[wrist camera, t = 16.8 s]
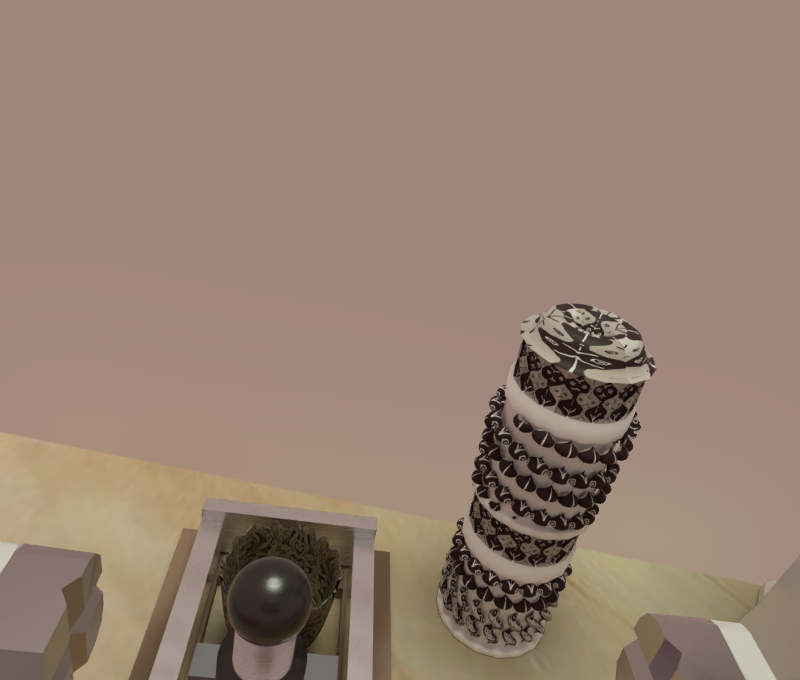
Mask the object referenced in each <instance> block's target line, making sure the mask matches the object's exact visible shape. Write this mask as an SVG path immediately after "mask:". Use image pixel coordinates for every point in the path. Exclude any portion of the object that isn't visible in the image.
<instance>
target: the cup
mask: <svg viewBox="0 0 800 680" xmlns="http://www.w3.org/2000/svg"><path fill="white" fill-rule="evenodd" d="M317 542H318V543H317ZM272 556H274V557H282V558H285V559H288V560H290V561H292V562H294V563H295V564H297V565H298V566H299V567H300V568H301V569H302V570H303V571H304V573H305V574H306V576H307V577H308V579H309V582H310V585H311V588H312V596H313V601H312V609H311V613H310V615H309V618H308V620H307V622H306V624H305V626H304V627H303V628H302V630H301V631H300V632H299V633H298V634H299V635H300V636H301V638H302V639H303V641H304V644H305V646H306V648H307V647H308V646H310V644H311V643H312V642H313V641H314V640H315V639H316V637H317V636H318V634H319V632H320V631H321V629H322V627H323V625H324V623H325V620H326V618H327V616H328V613H329V611H330V608H331V606H332V603H333V600H334V597H335V595H336V592H337V589H338V586H339V583H340V581H341V579H342V571H341V556H340V552H339V550H336V549H333V550H332V549H330V548H329V540H328V538H327V536H326V535H325V536H322V537H321V538H320V539H319V540H318V541H317V537H316V533H315V531H314V529H313V528H312V527H309V526H308V527H304V528H302V527H301V526H300V524H299V523H298V522H296V523H294V524H293V525H291V526H290V527H287V528H286V530H285V531H283V529H282V526H281V525H280V523H279V522H278V521H275V522H274V523H273V525H272V526H271V528H270V529H269V528H265V527H264V526H262V525H256V524H253V525H251V526H250V527H249V528H248V529H247V531H246V532H245V533H243V535H242V536H241V535H237V536H235V537H234V538H233V541H232V548H231V552H230V553H229V555H226V558H225V561H223V558H221V562H220V569H219V574H220V579H221V591H222V601H223V611H224V617H225V621H226V625H227V628H228V631H229V633H230V632H231V631H232V630H233V627H232V625H231V623H230V620H229V617H228V612H227V598H228V592H229V589H230V587H231V584H232V582H233V580H234V579H235V577H236V576H237V574H238V573H239V572H240V571H241V570H242V569H243V568H244V567H245V566H246V565H248V564H250V563H251V562H253V561H255V560H257V559H260V558H264V557H272Z"/></svg>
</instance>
